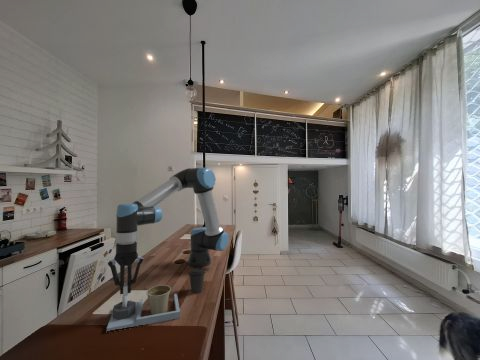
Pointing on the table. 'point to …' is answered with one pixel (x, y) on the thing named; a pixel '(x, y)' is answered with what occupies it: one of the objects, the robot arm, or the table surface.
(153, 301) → the flower pot
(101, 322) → the table surface
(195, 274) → the coffee cup
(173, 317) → the tray
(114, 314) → the faceted octagonal hub
